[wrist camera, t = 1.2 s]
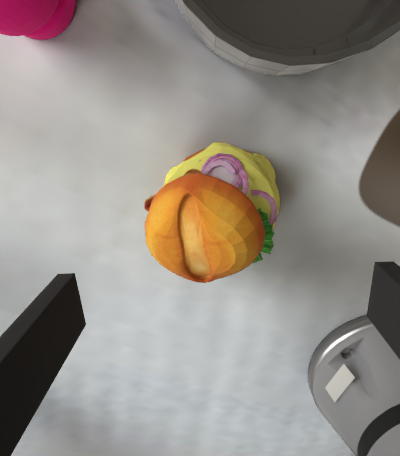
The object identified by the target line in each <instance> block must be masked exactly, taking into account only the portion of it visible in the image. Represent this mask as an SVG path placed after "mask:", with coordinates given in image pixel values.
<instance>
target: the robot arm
mask: <svg viewBox="0 0 400 456" xmlns="http://www.w3.org/2000/svg"><path fill="white" fill-rule="evenodd" d="M85 325H86V323H85V318H84V314H83V309H82V305H81V300H80V295H79V291H78V286H77V282H76V277H75V273H72V274H58V275H57V276H56V277H55V278H54V279H53V280H52V281H51V282H50V283H49V284H48V285H47V286H46V288H45V289H44V290H43V291H42V292H41V293H40V294H39V295H38V296H37V297H36V298H35V300H34V301H33V302H32V303H31V304H30V305H29V306H28V307H27V308H26V309H25V310H24V312H23V313H22V314H21V315H20V316H19V317H18V318H17V319H16V320H15V321H14V322H13V324H12V325H11V326H10V327H9V328H8V329H7V330H6V331H5V332H4V333H3V334H2V336H1V337H0V456H11V454H12V452H13V451H14V449H15V447H16V445H17V444H18V442H19V440H20V438H21V437H22V435H23V433H24V431H25V430H26V428H27V426H28V424H29V423H30V421H31V419H32V417H33V416H34V414H35V412H36V411H37V409H38V407H39V405H40V404H41V402H42V400H43V398H44V397H45V395H46V393H47V391H48V390H49V388H50V386H51V384H52V383H53V381H54V379H55V377H56V376H57V374H58V372H59V370H60V369H61V367H62V365H63V363H64V362H65V360H66V358H67V357H68V355H69V353H70V351H71V350H72V348H73V346H74V344H75V343H76V341H77V339H78V337H79V336H80V334H81V332H82V330H83V329H84V327H85ZM308 383H309V387H310V389H311V392H312V395H313V398H314V401H315V403H316V405H317V407H318V409H319V410H320V412H321V413H322V414H323V416H324V417H325V418H326V419H327V420H328V422H329V423H330V424H331V425H332V427H333V428H334V429H335V431H336V432H337V433H338V434H339V436H340V437H341V438H342V439H343V440H344V442H345V443H346V444H347V445H348V447H349V448H350V449H351V450H352V452H353V453H354V454H355V456H400V267H399V266H398V265H397V264H396V263H394V262H375V265H374V272H373V279H372V285H371V292H370V298H369V305H368V312H367V315H365V316H362V317H359V318H356V319H353V320H351V321H349V322H347V323H345V324H343V325H341V326H340V327H338V328H337V329H335V330H334V331H332V332H331V333H330V334H329V335H328V336H327V337H326V338H325V339H324V340H323V341H322V342H321V343H320V344H319V345H318V347H317V348H316V350H315V352H314V353H313V355H312V358H311V360H310V363H309V368H308Z"/></svg>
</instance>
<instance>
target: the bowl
mask: <svg viewBox="0 0 400 456" xmlns="http://www.w3.org/2000/svg"><path fill="white" fill-rule="evenodd" d="M174 1H175V3H176V4H177V6H178V8H179V10H180V11H181V13H182V15H183V17H184V18H185V20H186V22H187V23H188V25H189V27H190V28H191V30H192V31H193V32H194V33H195V34H196V35H197V36H198V37H199V38H200V39H201V40H202V41H203V42H204V43H205V44H206V45H207V46H208V47H209V48H210V49H211V50H212V51H213V52H215V54H217V55H219V56H221V57H222V58H224V59H226V60H228V61H229V62H231V63H233V64H235V65H237V66H238V67H240V68H243V69H245V70H250V71H254V72H259V73H263V74H267V75H273V76H276V75H292V74H304V73H308V72H311V71H313V70H316V69H319V68H322V67H325V66H328V65H331V64H333V63H336V62H339V61H341V60H344V59H346V58H349V57H352V56H354V55H357V54H359V53H362V52H365V51H367V50H370V49H372V48H374V47H375V46H377V45H378V44H380V43H381V42H383V41H384V40H386V39H387V38H389V37H390V36H392V35H393V34H395V33H396V32H398V31H399V30H400V0H174Z"/></svg>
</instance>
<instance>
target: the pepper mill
mask: <svg viewBox="0 0 400 456" xmlns="http://www.w3.org/2000/svg"><path fill="white" fill-rule="evenodd" d="M75 6H76V0H0V34H4V35H9V36H21V35H24V36H26V37H29V38H32V39H38V40H45V39H50V38H53V37H56V36H57V35H59V34H61V33H62V32H63V31H64V30H65V29H66V28H67V27H68V25H69V23H70V22H71V20H72V18H73V15H74V12H75Z"/></svg>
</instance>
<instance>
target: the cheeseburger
mask: <svg viewBox="0 0 400 456" xmlns="http://www.w3.org/2000/svg"><path fill="white" fill-rule="evenodd" d="M275 180H276V175H275V171H274V169H273V167H272V165H271V163H270V161H268V160H267V159H266V158H265V157H264V156H263V155H261V154H256V153H254V154H252V153H251V152H248V151H245V150H242V149H240V148H238V147H235V146H233V145H230V144H227V143H220V142H217V143H212V144H211V145H210V146H209V147H207V148H205V149H203V150H201V151H199V152H197V153H195V154H193V155H191V156H189V157H187V158H186V159H185V160H184V161H183V162H182V163H181V164H180V165H177V166H175V167H173V168H171V170H170V171H169V172H168V174H167V175H166V178H165V183H164V186H163V188H162V189H161V190H159V191H158V193H157V194H155V195H153V196H151V197H150V198H148V199H147V200H146V201H145V210H147V211H149V213H148V216H147V219H146V222H145V232H146V243H147V246H148V248H149V250H150V253H151V255H152V256H153V257H154V258H155V259H156V260H157V261H158V262H159V263H160V264H161V265H162V266H164V267H165V268H167V269H168V270H170V271H171V272H173V273H175V274H177V275H179V276H181V277H184V278H186V279H189V280H191V281H195V282H203V283H205V282H211V281H213V280H215V279H219V278H223V277H226V276H229V275H232V274H235V273H237V272H239V271H241V270H243V269H244V268H246V267H247V266H249V265H250V264H251V263H255V262H257V261H259V260H262V256H261V254H260V252H265V253H269V254H270V251H271V249H272V247H273V245H274V244H273V241H272V237H273V235H274V232H273V229H274V226H275V222H276V218H277V215H278V213H279V210H280V197H279V192H278V188H277V186H276V183H275Z"/></svg>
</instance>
